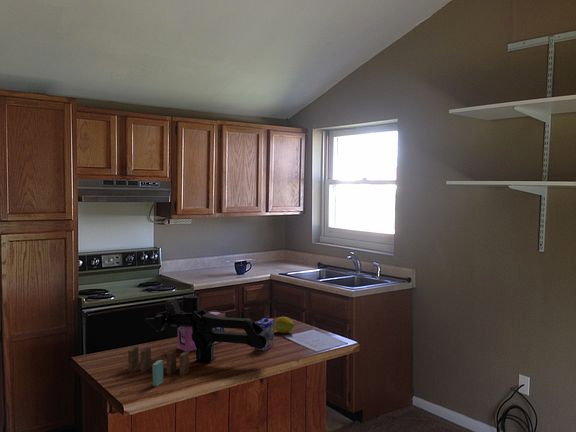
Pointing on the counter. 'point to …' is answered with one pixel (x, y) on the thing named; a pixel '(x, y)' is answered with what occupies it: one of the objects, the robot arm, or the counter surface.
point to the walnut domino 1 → (133, 359)
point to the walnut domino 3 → (171, 362)
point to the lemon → (284, 325)
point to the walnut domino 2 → (145, 359)
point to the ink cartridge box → (269, 327)
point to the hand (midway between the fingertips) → (149, 317)
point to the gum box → (186, 332)
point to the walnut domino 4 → (184, 363)
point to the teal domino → (157, 372)
